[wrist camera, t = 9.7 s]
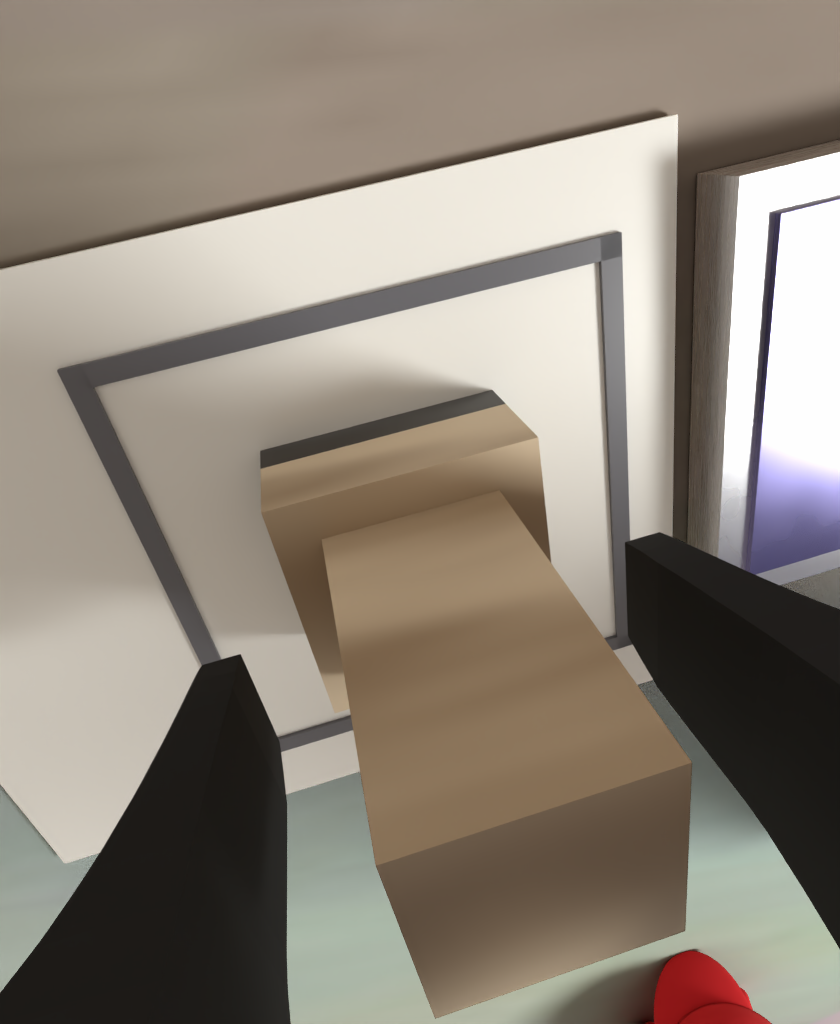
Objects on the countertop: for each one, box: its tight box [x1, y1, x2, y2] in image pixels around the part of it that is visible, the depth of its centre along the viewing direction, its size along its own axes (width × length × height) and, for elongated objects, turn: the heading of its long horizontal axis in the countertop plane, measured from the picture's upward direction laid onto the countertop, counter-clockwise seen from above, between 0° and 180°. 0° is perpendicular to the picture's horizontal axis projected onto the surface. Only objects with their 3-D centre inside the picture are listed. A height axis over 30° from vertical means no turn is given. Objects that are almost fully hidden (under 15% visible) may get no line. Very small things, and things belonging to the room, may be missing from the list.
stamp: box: [260, 390, 692, 1019], centre depth 10 cm, size 4×4×8 cm
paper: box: [0, 114, 678, 864], centre depth 14 cm, size 13×16×1 cm
